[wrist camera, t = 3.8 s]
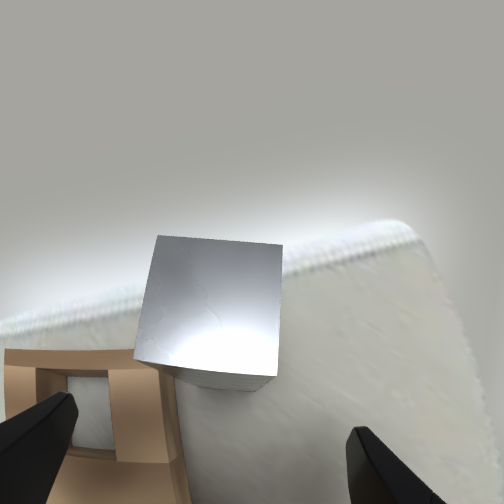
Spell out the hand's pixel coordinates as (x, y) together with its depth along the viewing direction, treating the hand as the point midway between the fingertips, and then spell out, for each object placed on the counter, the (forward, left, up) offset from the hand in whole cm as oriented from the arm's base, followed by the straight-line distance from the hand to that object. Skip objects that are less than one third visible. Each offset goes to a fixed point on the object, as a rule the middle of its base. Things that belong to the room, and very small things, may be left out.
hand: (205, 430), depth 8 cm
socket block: (-8, +7, -10) cm, 15 cm away
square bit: (+4, 0, -10) cm, 11 cm away
